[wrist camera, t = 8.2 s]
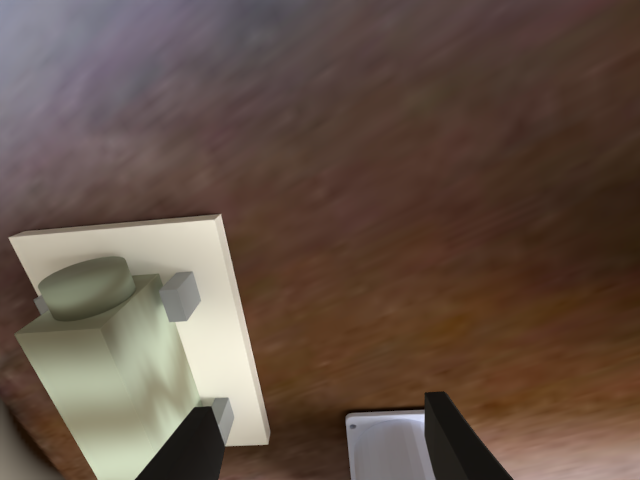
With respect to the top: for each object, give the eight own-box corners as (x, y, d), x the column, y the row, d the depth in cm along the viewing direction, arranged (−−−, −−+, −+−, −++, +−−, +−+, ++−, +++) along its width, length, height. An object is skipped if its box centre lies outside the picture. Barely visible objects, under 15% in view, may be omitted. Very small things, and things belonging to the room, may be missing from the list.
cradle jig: (270, 432, 24) (262, 472, 21) (125, 437, 25) (99, 478, 22) (220, 214, 18) (200, 232, 15) (24, 231, 18) (-31, 252, 16)
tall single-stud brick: (207, 418, 22) (175, 497, 18) (154, 420, 23) (109, 499, 18) (150, 248, 17) (85, 297, 13) (83, 254, 18) (-4, 303, 13)
